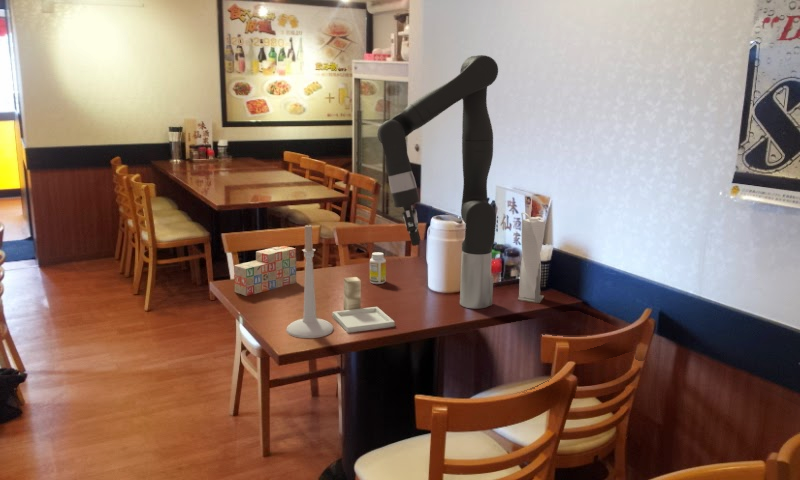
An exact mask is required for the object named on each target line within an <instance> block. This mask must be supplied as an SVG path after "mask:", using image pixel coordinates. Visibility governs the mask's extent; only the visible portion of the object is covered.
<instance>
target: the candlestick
mask: <svg viewBox="0 0 800 480" xmlns="http://www.w3.org/2000/svg"><path fill="white" fill-rule="evenodd" d="M304 243H305V244H304V248H303V249H301V251H303V252H302V253H303V256H304V258H305V263H304V264H305V266H304V268H305V269H304V292H303V317H302V318H299V319H296V320H294V321H292V322H291V323H289V324H288V326H287V327H286V333H287V335H290V336H292V337H295V338H299V339H316V338H322V337H326V336H328V335H330V334H331V333H333V331H334V326H333V324H332V323H331V322H329V321H327V320H325V319H323V318H317V309H316V297H315V296H316V295H315V281H314V280H315V279H314V277H315V276H314V262H313V257H315V254H314V253H315V251H316V248H313V226H312V225H311V224H307V225H304Z"/></svg>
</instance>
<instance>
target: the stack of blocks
mask: <svg viewBox="0 0 800 480" xmlns="http://www.w3.org/2000/svg"><path fill="white" fill-rule="evenodd" d="M233 266H234V267H233V268H234V269H233V273H234V276H233V282H234V292H235V293H236V294H241V296H242V295H243V296H246V297H248V296H251V295H255V294H259V293H262V292H263V293H264V292H267V291H271V290H274V289H277V288H281V287H284V286H289V285H292V284H296V283H297V249H296V247H295V248H294V247H292V246H291V247H290V246H287V245H282V246H275V247H269V248H265V249H262V250H261V249H260V250H257V251H255V260H251V261H248V262H242V263H238V264H235V265H233Z"/></svg>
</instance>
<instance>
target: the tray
mask: <svg viewBox="0 0 800 480" xmlns="http://www.w3.org/2000/svg"><path fill="white" fill-rule="evenodd" d="M332 318H333V319H334V320H335V321H336V323H338V324H339V325H340V327H342V328H343V329H344V331H346V333H355V332H363V331H371V330H378V329H379V330H380V329H387V328H395V326H396V325H395V324H396V323H395V320H393V318H391V317H390V316H388V314H386V313H385V312H384V311H383V310H382V309H380V307H378V306H372V307H364V308H363V307H362V308H361V309H352V310H344V309H343V310H336V311H332Z"/></svg>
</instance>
